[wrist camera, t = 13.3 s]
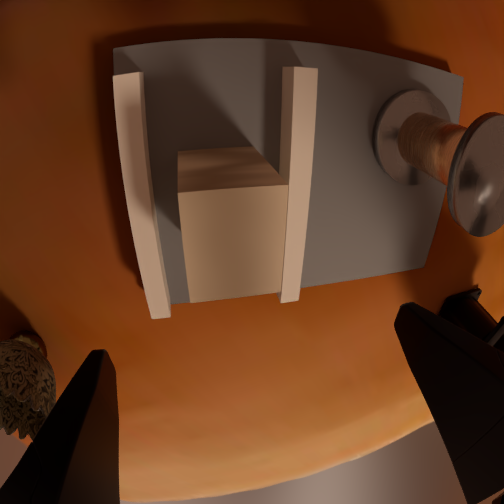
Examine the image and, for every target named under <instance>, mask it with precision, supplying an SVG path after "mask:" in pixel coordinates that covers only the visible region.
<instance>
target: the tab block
mask: <svg viewBox="0 0 504 504" xmlns="http://www.w3.org/2000/svg"><path fill="white" fill-rule="evenodd" d="M288 186H289V185H288V184H287V183H286V181H285V180H284V179H283V178H282V177H281V176H280V175H279V174H278V173H277V171H276V170H275V169H274V168H273V167H272V166H271V165H270V164H269V163H268V162H267V160H266V159H265V158H264V157H263V156H262V155H261V154H260V153H259V152H258V151H257V150H256V149H255V148H254V147H253V146H252V147H230V148H214V149H200V150H187V151H178V202H179V213H180V223H181V232H182V241H183V250H184V258H185V267H186V275H187V282H188V290H189V297H190V303H195V302H204V301H213V300H221V299H230V298H238V297H246V296H254V295H261V294H269V293H276V292H281V283H282V271H283V258H284V245H285V231H286V217H287V202H288Z"/></svg>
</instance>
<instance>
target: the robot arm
mask: <svg viewBox="0 0 504 504" xmlns="http://www.w3.org/2000/svg"><path fill="white" fill-rule="evenodd" d="M481 292H482V290H481V289H480V288H477V289H474V290H471V291H467V292H464V293H461V294H457V295H454V296H451V297H448V298H447V299H446V301H445V303H444V305H443V307H442V309H441V312H440V314H439V316H438V315H436V314H434V313H432V312H430V311H429V310H427V309H425V308H423V307H421V306H419V305H418V304H416V303H414V302H409V303H405V304H402V305H401V306H400V309H399V311H398V314H397V317H396V319H395V322H394V328H395V331H396V333H397V336H398V339H399V341H400V344H401V346H402V349H403V351H404V354H405V357H406V359H407V362H408V364H409V367H410V369H411V371H412V373H413V375H414V377H415V379H416V382H417V384H418V386H419V388H420V390H421V392H422V394H423V396H424V398H425V401H426V403H427V405H428V407H429V409H430V412H431V414H432V416H433V418H434V421H435V423H436V425H437V427H438V430H439V432H440V434H441V436H442V439H443V441H444V444H445V446H446V449H447V451H448V453H449V456H450V458H451V461H452V464H453V466H454V469H455V471H456V474H457V477H458V479H459V482H460V485H461V487H462V490H463V493H464V496H465V499H466V501H467V504H477V503H479V502H481V501H483V500H485V499H486V498H488V497H490V496H492V495H493V494H495V493H497V492H498V491H500V490H502V489H503V488H504V316H503V317H502V318H501V319H500V322H499V323H497V322H496V321H495V320H494V318H493V317H492V316H491V315H490V314H489V313H488V312H487V311H486V310H485V309H484V307H483V306H482V305H481V304H480V303H479V302H478V301H477V300H478V298H479V296H480V294H481ZM0 504H120V497H119V414H118V401H117V385H116V371H115V367H114V365H113V363H112V361H111V359H110V357H109V354H108V352H107V351H106V350H105V349H99V350H92V351H91V352H90V353H89V355H88V356H87V358H86V359H85V361H84V362H83V363H82V365H81V366H80V368H79V369H78V371H77V372H76V374H75V375H74V377H73V378H72V380H71V381H70V382H69V384H68V385H67V387H66V388H65V390H64V391H63V393H62V394H61V396H60V397H59V399H58V401H57V402H56V404H55V405H54V407H53V408H52V410H51V411H50V413H49V414H48V416H47V418H46V419H45V421H44V422H43V424H42V426H41V427H40V429H39V430H38V432H37V434H36V435H35V437H34V439H33V442H31V443H30V445H29V447H28V448H27V450H26V452H25V453H24V455H23V456H22V458H21V460H20V461H19V463H18V465H17V466H16V467H15V469H14V470H13V472H12V473H11V474H10V476H9V477H8V479H7V480H6V481H5V483H4V484H3V486H2V487H1V488H0ZM492 504H504V492H503V493H502V494H500V495H499V496H498V497H497V498H495V499H494V500H493V501H492Z"/></svg>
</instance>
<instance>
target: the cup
mask: <svg viewBox="0 0 504 504" xmlns="http://www.w3.org/2000/svg"><path fill="white" fill-rule="evenodd" d="M55 404H56V382H55V376H54V372H53V369H52V367H51V365H50V363H49V361H48V360H47V349H46V346H45V344H44V342H43V341H42V340H41V339H40V338H39V337H38V336H37V335H35V334H33V333H31V332H29V331H17V332H16V333H14V334H13V335H12V336H11V337H10V340H4V341H1V342H0V430H1V429H2V428H4V430H5V432H6V434H7V435H11V434H12V433H14V432H15V431H16V429H17V428H18V431H19V438H20V439H24V438H25V437H26V434H27V435H28V434H29V435H30V438H31V439H32V440H33V439H34V437H35V435H36V434H37V432H38V430H39V429H40V427H41V426H42V424H43V422H44V421H45V419H46V418H47V416H48V414H49V413H50V411H51V410H52V408H53V407H54V405H55Z"/></svg>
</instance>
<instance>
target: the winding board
mask: <svg viewBox="0 0 504 504" xmlns="http://www.w3.org/2000/svg"><path fill="white" fill-rule="evenodd" d="M113 63H114V76H113V89H114V103H115V115H116V125H117V135H118V144H119V152H120V160H121V168H122V175H123V182H124V189H125V195H126V201H127V207H128V213H129V219H130V224H131V229H132V235H133V240H134V245H135V250H136V254H137V259H138V264H139V268H140V273H141V277H142V282H143V286H144V290H145V294H146V298H147V302H148V306H149V310H150V314H151V318H152V319H157V318H167V317H171V313H170V304H178V303H187V302H190V297H189V290H188V282H187V275H186V267H185V258H184V250H183V241H182V232H181V223H180V213H179V202H178V151H187V150H200V149H214V148H230V147H252V146H253V147H254V148H255V149H256V150H257V151H258V152H259V153H260V154H261V155H262V156H263V157H264V158H265V159H266V160H267V162H268V163H269V164H270V165H271V166H272V167H273V168H274V169H275V170H276V171H277V173H278V174H279V175H280V176H281V177H282V178H283V179H284V180H285V181H286V183H287V184H288V185H289V186H288V202H287V217H286V231H285V245H284V258H283V271H282V283H281V292H276V293H277V296H278V298H279V300H280V303H285V302H292V301H298V300H299V292H300V288H303V287H310V286H316V285H323V284H329V283H336V282H342V281H348V280H355V279H361V278H367V277H373V276H378V275H384V274H390V273H396V272H401V271H407V270H412V269H418V268H423V267H424V265H425V262H426V259H427V256H428V253H429V249H430V246H431V243H432V240H433V236H434V233H435V229H436V226H437V222H438V219H439V215H440V211H441V207H442V203H443V199H444V195H445V191H446V187H447V186H446V185H444V184H442V183H441V182H439V181H437V180H436V179H434V178H431V179H430V180H428V181H426V182H424V183H422V184H419V185H404V184H401V183H399V182H397V181H396V180H394V179H393V178H391V177H390V176H388V175H387V174H386V173H384V172H383V170H382V169H381V168H380V166H379V165H378V163H377V161H376V158H375V155H374V152H373V146H372V132H373V126H374V122H375V119H376V117H377V114H378V112H379V110H380V108H381V107H382V105H383V104H384V103H385V102H386V101H387V99H388V98H390V97H391V96H392V95H393V94H395V93H397V92H399V91H401V90H405V89H417V90H422V91H426V92H429V93H431V94H433V95H435V96H436V97H437V98H439V99H440V100H441V102H442V103H443V104H444V105H445V107H446V109H447V111H448V113H449V116H450V119H451V122H453V123H455V124H458V123H459V115H460V107H461V99H462V89H463V78H464V77H461V76H458V75H455V74H452V73H449V72H446V71H443V70H440V69H437V68H433V67H430V66H427V65H423V64H420V63H416V62H412V61H409V60H405V59H401V58H397V57H393V56H388V55H384V54H379V53H374V52H369V51H364V50H359V49H353V48H347V47H341V46H334V45H327V44H320V43H311V42H301V41H290V40H276V39H254V38H212V39H190V40H176V41H165V42H155V43H147V44H139V45H132V46H125V47H119V48H113Z"/></svg>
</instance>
